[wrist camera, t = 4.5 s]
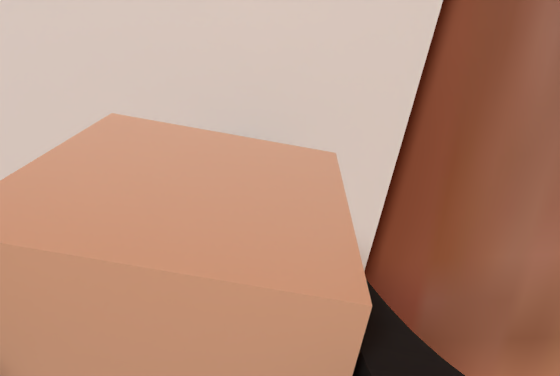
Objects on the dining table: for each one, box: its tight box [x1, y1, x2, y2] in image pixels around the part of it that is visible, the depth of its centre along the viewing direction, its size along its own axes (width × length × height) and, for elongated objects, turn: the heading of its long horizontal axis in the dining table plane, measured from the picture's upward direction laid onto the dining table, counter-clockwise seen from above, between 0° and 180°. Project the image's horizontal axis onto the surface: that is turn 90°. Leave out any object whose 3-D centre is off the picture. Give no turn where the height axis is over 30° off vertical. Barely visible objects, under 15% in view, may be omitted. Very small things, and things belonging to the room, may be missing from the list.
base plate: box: [0, 0, 443, 271], centre depth 19 cm, size 18×17×1 cm
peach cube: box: [0, 113, 372, 376], centre depth 10 cm, size 6×6×6 cm
